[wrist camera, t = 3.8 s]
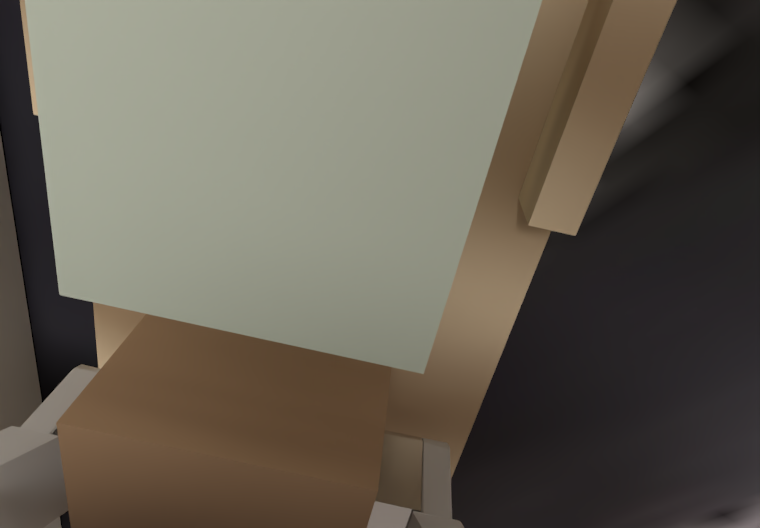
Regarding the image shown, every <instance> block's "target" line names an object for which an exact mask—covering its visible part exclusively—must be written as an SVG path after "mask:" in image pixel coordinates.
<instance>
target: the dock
mask: <svg viewBox="0 0 760 528" xmlns="http://www.w3.org/2000/svg"><path fill="white" fill-rule="evenodd" d="M41 404H42V398H41V392H40V385H39V379H38V372H37V366H36V359H35V353H34V346H33V340H32V333H31V327H30V320H29V314H28V307H27V301H26V295H25V288H24V282H23V275H22V269H21V262H20V256H19V249H18V243H17V236H16V230H15V223H14V217H13V210H12V204H11V198H10V191H9V185H8V178H7V172H6V165H5V159H4V152H3V146H2V139H1V133H0V431H1V430H3V429H6V428H8V427H10V426H15V427H21V426H22V425H23V424H24V422H25V421H26V420H27V419H28V418H29V417H30V416H31V415H32V414H33V412H34V411H35V410H36V409H37V408H38V407H39V406H40V405H41ZM44 528H62V527H61V521H60V517H58V518H57V519H55V520H54V521H52V522H51V523H50V524H48V525H47V526H45V527H44Z"/></svg>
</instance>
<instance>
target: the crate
mask: <svg viewBox="0 0 760 528" xmlns="http://www.w3.org/2000/svg"><path fill="white" fill-rule="evenodd" d="M541 3H542V0H25V7H26V16H27V24H28V32H29V41H30V49H31V58H32V66H33V75H34V83H35V92H36V100H37V109H38V117H39V126H40V134H41V143H42V151H43V160H44V168H45V177H46V185H47V194H48V202H49V211H50V219H51V228H52V236H53V245H54V253H55V262H56V270H57V279H58V287H59V295H62V296H67V297H71V298H76V299H81V300H85V301H90V302H94V303H99V304H104V305H108V306H113V307H117V308H122V309H127V310H131V311H136V312H140V313H145V314H150V315H154V316H159V317H163V318H168V319H173V320H177V321H182V322H186V323H191V324H196V325H200V326H205V327H209V328H214V329H219V330H223V331H228V332H232V333H237V334H242V335H246V336H251V337H255V338H260V339H265V340H269V341H274V342H278V343H283V344H288V345H292V346H297V347H301V348H306V349H311V350H315V351H320V352H324V353H329V354H334V355H338V356H343V357H347V358H352V359H357V360H361V361H366V362H370V363H375V364H380V365H384V366H389V367H393V368H398V369H403V370H407V371H412V372H416V373H421V374H424V371H425V368H426V365H427V362H428V359H429V355H430V352H431V349H432V346H433V343H434V340H435V336H436V333H437V330H438V327H439V324H440V321H441V318H442V314H443V311H444V308H445V305H446V302H447V299H448V296H449V292H450V289H451V286H452V283H453V280H454V277H455V274H456V270H457V267H458V264H459V261H460V258H461V255H462V252H463V248H464V245H465V242H466V239H467V236H468V233H469V229H470V226H471V223H472V220H473V217H474V214H475V211H476V207H477V204H478V201H479V198H480V195H481V192H482V189H483V185H484V182H485V179H486V176H487V173H488V170H489V167H490V163H491V160H492V157H493V154H494V151H495V148H496V144H497V141H498V138H499V135H500V132H501V129H502V126H503V122H504V119H505V116H506V113H507V110H508V107H509V104H510V100H511V97H512V94H513V91H514V88H515V85H516V82H517V78H518V75H519V72H520V69H521V66H522V63H523V59H524V56H525V53H526V50H527V47H528V44H529V41H530V37H531V34H532V31H533V28H534V25H535V22H536V19H537V15H538V12H539V9H540V6H541Z"/></svg>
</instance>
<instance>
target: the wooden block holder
mask: <svg viewBox="0 0 760 528" xmlns="http://www.w3.org/2000/svg"><path fill="white" fill-rule="evenodd" d="M676 1H677V0H542V3H541V6H540V9H539V12H538V15H537V19H536V22H535V25H534V28H533V31H532V34H531V37H530V41H529V44H528V47H527V50H526V53H525V56H524V59H523V63H522V66H521V69H520V72H519V75H518V78H517V82H516V85H515V88H514V91H513V94H512V97H511V100H510V104H509V107H508V110H507V113H506V116H505V119H504V122H503V126H502V129H501V132H500V135H499V138H498V141H497V144H496V148H495V151H494V154H493V157H492V160H491V163H490V167H489V170H488V173H487V176H486V179H485V182H484V185H483V189H482V192H481V195H480V198H479V201H478V204H477V207H476V211H475V214H474V217H473V220H472V223H471V226H470V229H469V233H468V236H467V239H466V242H465V245H464V248H463V252H462V255H461V258H460V261H459V264H458V267H457V270H456V274H455V277H454V280H453V283H452V286H451V289H450V292H449V296H448V299H447V302H446V305H445V308H444V311H443V314H442V318H441V321H440V324H439V327H438V330H437V333H436V336H435V340H434V343H433V346H432V349H431V352H430V355H429V359H428V362H427V365H426V368H425V371H424V374H421V373H416V372H412V371H407V370H403V369H398V368H393V367H389V366H384V365H380V364H375V363H370V362H366V361H361V360H357V359H352V358H347V357H343V356H338V355H334V354H329V353H324V352H320V351H315V350H311V349H306V348H301V347H297V346H292V345H288V344H283V343H278V342H274V341H269V340H265V339H260V338H255V337H251V336H246V335H242V334H237V333H232V332H228V331H223V330H219V329H214V328H209V327H205V326H200V325H196V324H191V323H186V322H182V321H177V320H173V319H168V318H163V317H159V316H154V315H150V314H145V313H140V312H136V311H131V310H127V309H122V308H117V307H113V306H108V305H104V304H99V303H94V302H93V308H94V321H95V333H96V346H97V359H98V368H100V370H99V372H98V373H97V374H96V375H95V376H94V378H93V379H92V380H91V381H90V382H89V384H88V385H87V386H86V387H85V388H84V390H83V391H82V392H81V393H80V394H79V396H78V397H77V398H76V399H75V400H74V402H73V403H72V404H71V405H70V407H69V408H68V409H67V410H66V411H65V413H64V414H63V415H62V416H61V417H60V419H59V420H58V421H57V422H56V425H57V432H58V439H59V446H60V453H61V461H62V468H63V475H64V482H65V489H66V496H67V504H68V511H69V518H70V525H71V528H367V526H368V522H369V519H370V516H371V512H372V509H373V506H374V503H375V499H376V496H377V493H378V487H379V478H380V468H381V459H382V450H383V441H384V432H385V430H387V431H392V432H397V433H402V434H407V435H412V436H417V437H421V439H422V438H426V439H431V440H436V441H440V442H445V443H448V445H449V447H450V468H451V478H452V476H453V473H454V471H455V468H456V466H457V463H458V461H459V458H460V456H461V453H462V451H463V448H464V446H465V443H466V441H467V438H468V436H469V434H470V431H471V429H472V426H473V424H474V421H475V419H476V416H477V414H478V411H479V409H480V406H481V404H482V401H483V399H484V396H485V394H486V391H487V389H488V386H489V384H490V381H491V379H492V376H493V374H494V371H495V369H496V367H497V364H498V362H499V359H500V357H501V354H502V352H503V349H504V347H505V344H506V342H507V339H508V337H509V334H510V332H511V329H512V327H513V324H514V322H515V319H516V317H517V314H518V312H519V309H520V307H521V305H522V302H523V300H524V297H525V295H526V292H527V290H528V287H529V285H530V282H531V280H532V277H533V275H534V272H535V270H536V267H537V265H538V262H539V260H540V257H541V255H542V252H543V250H544V247H545V245H546V242H547V240H548V238H549V235H550V233H551V231H556V232H560V233H565V234H569V235H573V236H576V234H577V231H578V229H579V227H580V224H581V222H582V220H583V217H584V215H585V213H586V210H587V208H588V206H589V203H590V201H591V199H592V197H593V194H594V192H595V190H596V187H597V185H598V183H599V180H600V178H601V176H602V173H603V171H604V169H605V166H606V164H607V162H608V159H609V157H610V155H611V152H612V150H613V148H614V145H615V143H616V141H617V138H618V136H619V134H620V131H621V129H622V127H623V125H624V122H625V120H626V118H627V115H628V113H629V111H630V108H631V106H632V104H633V101H634V99H635V97H636V94H637V92H638V90H639V87H640V85H641V83H642V80H643V78H644V76H645V73H646V71H647V69H648V66H649V64H650V62H651V60H652V57H653V55H654V53H655V50H656V48H657V46H658V43H659V41H660V39H661V36H662V34H663V32H664V29H665V27H666V25H667V22H668V20H669V18H670V15H671V13H672V11H673V8H674V6H675V4H676ZM20 7H21V15H22V23H23V32H24V40H25V48H26V56H27V65H28V73H29V81H30V89H31V98H32V106H33V114H34V115H38V109H37V100H36V92H35V83H34V75H33V66H32V58H31V49H30V41H29V32H28V24H27V16H26V7H25V0H20Z"/></svg>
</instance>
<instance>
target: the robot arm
mask: <svg viewBox="0 0 760 528" xmlns="http://www.w3.org/2000/svg"><path fill="white" fill-rule="evenodd" d="M99 370H100V368H96V367H92V366H87V365H83V364H81V365H79V366H77V367H75V368H74V369H72V370H71V372H70V373H69V374H68V375H67V376H66V377H65V378H64V379H63V380H62V382H61V383H60V384H59V385H58V386H57V387H56V388H55V389H54V390H53V391H52V393H51V394H50V395H49V396H48V397H47V398H46V399H45V400H44V401H43V403H42V404H41V405H40V406H39V407H38V408H37V409H36V410H35V411H34V412H33V414H32V415H31V416H30V417H29V418H28V419H27V420H26V421H25V422H24V424H23V425H22V426H21V427H15V426H10V427H8V428H6V429H3V430H1V431H0V528H44V527H45V526H47V525H48V524H50V523H51V522H52V521H54V520H55V519H57V518H58V517H60V516H61V515H62V514H64V513H65V512H67V511H68V504H67V496H66V489H65V482H64V475H63V468H62V461H61V453H60V446H59V439H58V432H57V425H56V422H57V421H58V420H59V419H60V417H61V416H62V415H63V414H64V413H65V411H66V410H67V409H68V408H69V407H70V405H71V404H72V403H73V402H74V400H75V399H76V398H77V397H78V396H79V394H80V393H81V392H82V391H83V390H84V388H85V387H86V386H87V385H88V384H89V382H90V381H91V380H92V379H93V378H94V376H95V375H96V374H97V373H98V372H99ZM367 528H464V526H463V524H462V523H461V521H458V520H454V519H452V496H451V468H450V447H449V445H448V443H445V442H440V441H436V440H431V439H426V438H422V439H421V437H417V436H412V435H407V434H402V433H397V432H392V431H387V430H385V432H384V441H383V450H382V459H381V468H380V478H379V487H378V493H377V496H376V499H375V503H374V506H373V509H372V512H371V516H370V519H369V522H368V526H367Z"/></svg>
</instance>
